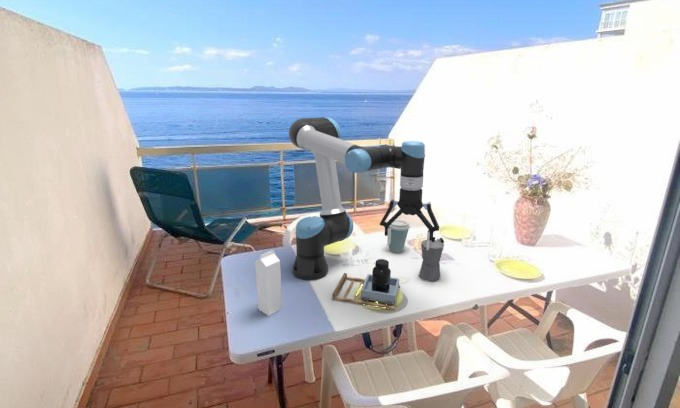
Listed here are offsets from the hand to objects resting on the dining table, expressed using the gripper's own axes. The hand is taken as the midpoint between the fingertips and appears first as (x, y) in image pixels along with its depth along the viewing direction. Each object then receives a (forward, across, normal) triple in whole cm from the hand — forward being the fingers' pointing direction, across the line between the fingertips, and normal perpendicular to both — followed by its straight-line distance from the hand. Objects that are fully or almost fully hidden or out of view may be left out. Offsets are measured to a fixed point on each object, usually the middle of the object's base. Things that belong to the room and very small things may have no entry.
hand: (407, 246), depth 122 cm
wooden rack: (+21, -14, +1) cm, 25 cm away
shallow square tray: (+22, -10, +1) cm, 24 cm away
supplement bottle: (+20, -9, +1) cm, 22 cm away
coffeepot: (+22, +8, +23) cm, 33 cm away
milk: (+21, -45, -21) cm, 54 cm away
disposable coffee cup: (+21, -9, +43) cm, 49 cm away
